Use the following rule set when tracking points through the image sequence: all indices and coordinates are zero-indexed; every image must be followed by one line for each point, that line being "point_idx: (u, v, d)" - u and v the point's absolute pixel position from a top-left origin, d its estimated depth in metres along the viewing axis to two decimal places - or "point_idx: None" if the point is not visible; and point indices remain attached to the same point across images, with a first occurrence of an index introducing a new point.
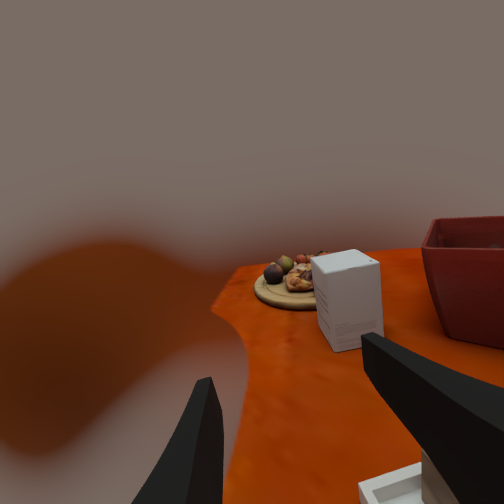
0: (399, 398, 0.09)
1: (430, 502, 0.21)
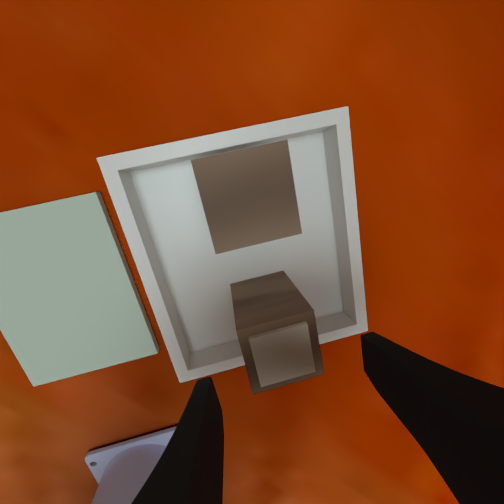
0: (399, 398, 0.09)
1: None
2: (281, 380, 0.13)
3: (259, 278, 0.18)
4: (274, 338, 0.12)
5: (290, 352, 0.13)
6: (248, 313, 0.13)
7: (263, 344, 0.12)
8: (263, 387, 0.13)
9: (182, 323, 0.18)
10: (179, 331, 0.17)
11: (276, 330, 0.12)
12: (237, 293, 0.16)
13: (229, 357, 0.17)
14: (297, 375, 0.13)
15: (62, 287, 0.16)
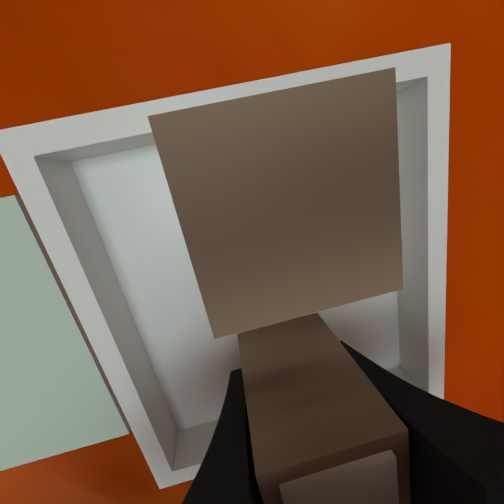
0: None
1: None
2: None
3: (282, 326, 0.12)
4: (330, 487, 0.06)
5: None
6: (275, 417, 0.07)
7: (309, 499, 0.06)
8: None
9: (165, 391, 0.12)
10: (160, 407, 0.11)
11: (335, 472, 0.06)
12: (251, 359, 0.10)
13: None
14: None
15: None
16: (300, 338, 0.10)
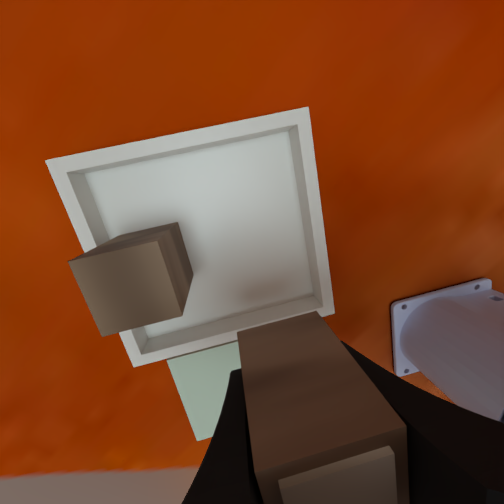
0: None
1: None
2: None
3: (281, 324, 0.12)
4: (329, 482, 0.06)
5: (357, 502, 0.07)
6: (274, 414, 0.07)
7: (308, 495, 0.06)
8: None
9: (282, 302, 0.20)
10: (287, 307, 0.19)
11: (333, 467, 0.06)
12: (250, 357, 0.10)
13: (317, 269, 0.17)
14: None
15: None
16: (299, 336, 0.10)
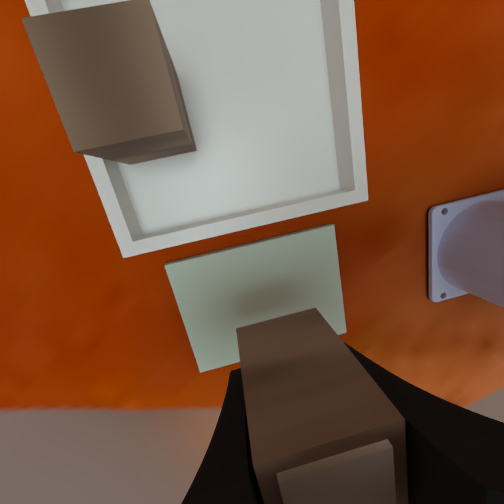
0: None
1: (139, 159, 0.13)
2: None
3: (280, 321, 0.12)
4: (327, 476, 0.06)
5: (356, 496, 0.07)
6: (273, 408, 0.07)
7: (306, 488, 0.06)
8: None
9: (303, 196, 0.16)
10: (309, 198, 0.16)
11: (332, 460, 0.06)
12: (249, 352, 0.10)
13: (348, 138, 0.14)
14: None
15: (254, 300, 0.18)
16: (298, 332, 0.10)
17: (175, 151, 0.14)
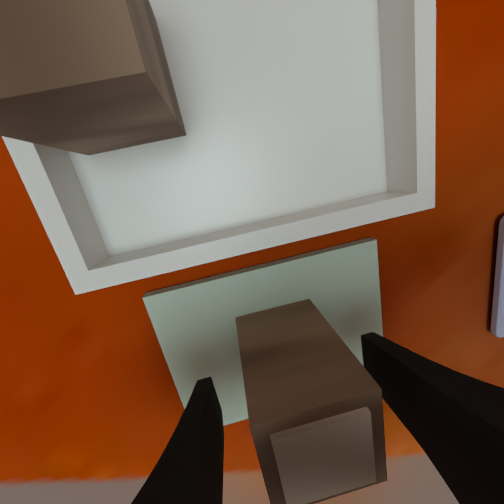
0: (400, 398, 0.09)
1: (96, 145, 0.09)
2: (321, 496, 0.08)
3: (276, 310, 0.12)
4: (313, 437, 0.07)
5: (339, 456, 0.07)
6: (268, 383, 0.08)
7: (295, 447, 0.07)
8: None
9: (336, 200, 0.12)
10: (347, 203, 0.11)
11: (318, 424, 0.07)
12: (247, 337, 0.11)
13: (412, 116, 0.10)
14: (346, 487, 0.08)
15: None
16: (292, 320, 0.11)
17: (152, 134, 0.09)
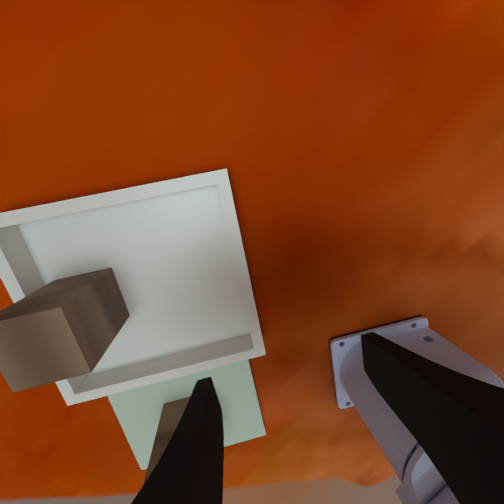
0: (400, 398, 0.09)
1: None
2: None
3: (187, 400, 0.21)
4: None
5: None
6: None
7: None
8: None
9: (220, 340, 0.20)
10: (222, 347, 0.20)
11: None
12: (163, 422, 0.19)
13: (246, 313, 0.18)
14: None
15: None
16: None
17: None
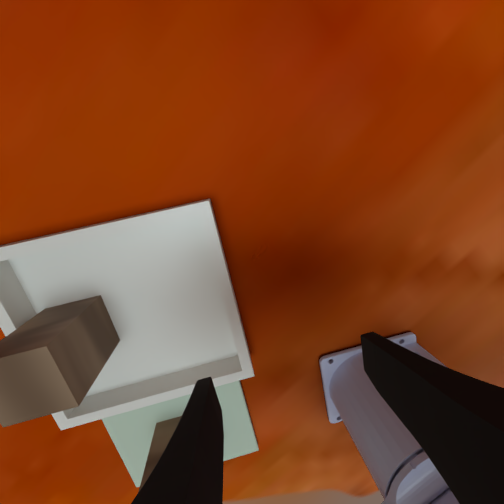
0: (400, 398, 0.09)
1: None
2: None
3: (179, 420, 0.22)
4: None
5: None
6: None
7: None
8: None
9: (210, 361, 0.21)
10: (211, 368, 0.20)
11: None
12: (155, 443, 0.20)
13: (233, 337, 0.19)
14: None
15: None
16: None
17: None
